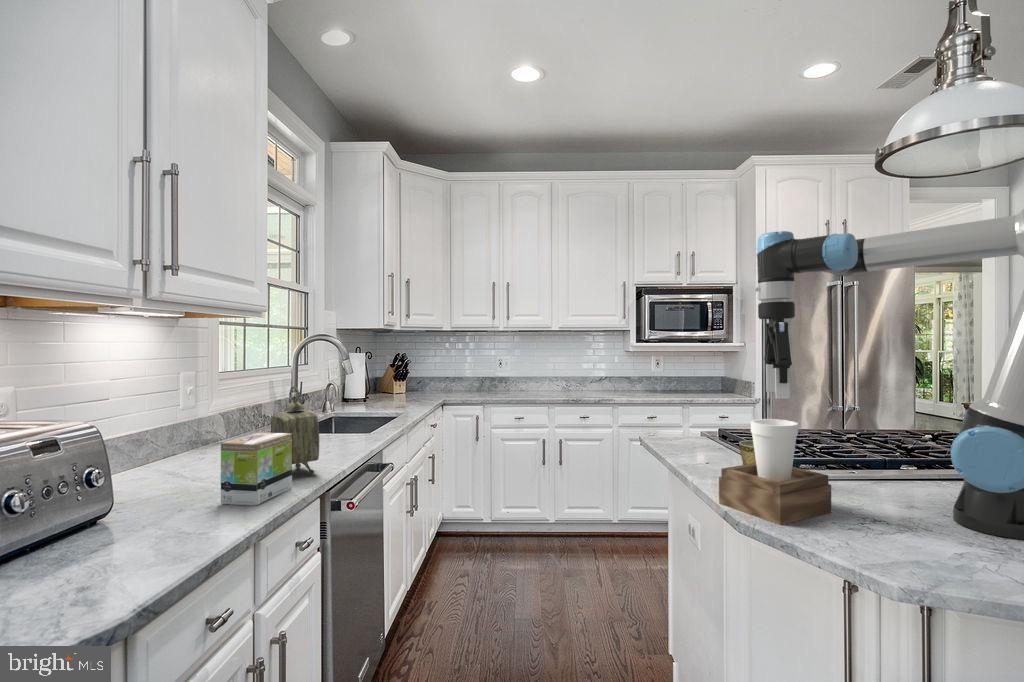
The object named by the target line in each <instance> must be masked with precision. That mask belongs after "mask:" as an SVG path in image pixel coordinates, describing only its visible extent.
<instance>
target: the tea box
mask: <svg viewBox="0 0 1024 682" xmlns="http://www.w3.org/2000/svg"><path fill="white" fill-rule="evenodd" d="M292 488H293V464H292V434H291V433H271V432H257V433H252V434H249V435H245V436H241V437H238V438H235V439H231V440H226V441H224V442H221V443H220V504H222V505H232V506H258V505H260V504H261V503H264V502H265V501H267V500H270V499H271V498H274V497H277V496H279V495H281V494H283V493H285V492H288V491H290V490H292Z"/></svg>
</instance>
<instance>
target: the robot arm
mask: <svg viewBox="0 0 1024 682" xmlns="http://www.w3.org/2000/svg"><path fill="white" fill-rule="evenodd" d="M756 250H757V251H756V252H757V253H756V259H757V261H756V262H757V263H756V264H757V265H756V266H757V287H755V288H754V291H755V292H757V293H758V294H757V298H758V299H757V300H758V301H759V302H760V303H758V304H757V310H758V311H757V315H758V316H757V317H758V319H759V320H768V322H766V324H765V344H764V345H765V346H764V348H765V349H764V358H763V359H764V362H765V374H766V375H765V377H766V379H765V380H766V385H765V386H766V387H765V389H766V390H765V392H766V393H775V399H779V400H781V399H782V400H785V399H786V400H787V399H788V400H789V399H790V400H791V380H790V377H791V376H790V375H791V373H790V372H791V371H790V368H791V366H792V364H793V362H792V357H791V347H790V345H791V344H790V338H789V323H788V322H787V321H785V320H786V319H794V318H795V317H796V309H795V307H796V306H795V305H796V304H795V302H794V301H793V300H795V298H796V297H795V296H796V294H795V293H796V291H795V290H796V287H795V285H796V283H795V274H803V273H817V272H823V273H827V274H832V275H835V276H838V277H839V276H840V277H845V276H847V277H848V276H853V275H854V274H859V273H860V274H861V273H866V272H867V273H868V272H872V271H873V272H875V271H877V272H878V271H885V270H893V269H894V270H895V269H901V268H910V267H911V268H912V267H919V266H920V267H921V266H927V265H928V266H929V265H938V264H948V263H956V262H957V263H958V262H965V261H973V260H981V259H982V260H983V259H989V258H990V259H991V258H998V257H999V258H1000V257H1009V256H1022V257H1023V258H1024V208H1023V209H1022V210H1021V211H1020V212H1019V213H1017V214H1016V215H1010V216H1003V217H995V218H989V219H983V220H976V221H969V222H963V223H957V224H956V223H955V224H951V225H945V226H942V225H941V226H937V227H930V228H924V229H917V230H911V231H910V230H909V231H904V232H898V233H891V234H885V235H879V236H878V235H877V236H872V237H870V236H869V237H866V238H859V239H858V238H857V239H856V237H855V235H854V234H852V233H850V232H849V233H848V232H846V233H832V234H828V235H821V236H819V235H818V236H813V237H806V238H795V236H794V233H793V232H792V231H788V230H787V231H786V230H783V231H782V230H780V231H772V232H771V231H770V232H765V233H763V234H761V235H759V237H758V238H757V249H756ZM963 415H964V416H963V419H962V425H961V427H960V430H959V433H958V435H956V437H955V438H954V439H953V441H952V443H951V446H950V451H949V452H950V458H951V459H950V460H951V463H952V465H953V468H954V469H955V471H956V472H957V474H958V475H959V476H960V477H961V478H962V479H963V484H962V487H961V488H960V491H959V492H958V493H959V494H958V496H957V498H956V501H955V502H954V504H953V507H952V509H953V510H952V519H953V521H954V522H956V523H957V524H958V525H960V526H963V527H965V528H967V529H971V530H973V531H977V532H980V533H982V534H983V533H984V534H987V535H992V536H997V537H1003V538H1009V539H1015V540H1016V539H1017V540H1024V289H1023V291H1022V294H1021V296H1020V299H1019V301H1018V303H1017V307H1016V310H1015V312H1014V314H1013V318H1012V321H1011V324H1010V326H1009V328H1008V331H1007V334H1006V337H1005V339H1004V341H1003V344H1002V347H1001V350H1000V353H999V356H998V359H997V362H996V364H995V367H994V369H993V372H992V374H991V377H990V379H989V382H988V385H987V388H986V391H985V393H984V396H983V398H982V399H979V400H976V401H975V402H971V403H970V404H969V405H968V409H966V410H965V411H964V414H963Z"/></svg>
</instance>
